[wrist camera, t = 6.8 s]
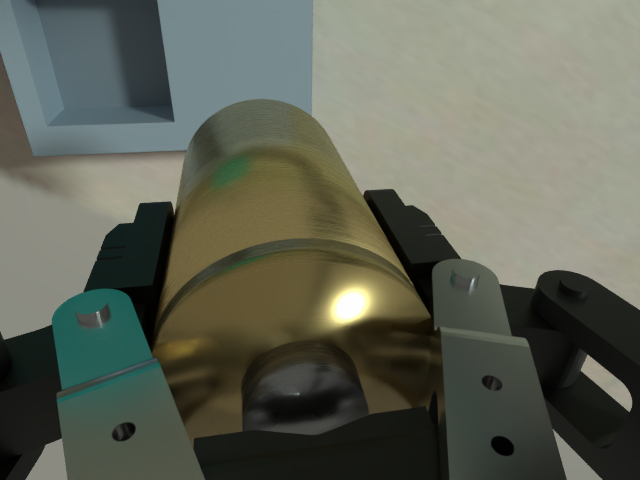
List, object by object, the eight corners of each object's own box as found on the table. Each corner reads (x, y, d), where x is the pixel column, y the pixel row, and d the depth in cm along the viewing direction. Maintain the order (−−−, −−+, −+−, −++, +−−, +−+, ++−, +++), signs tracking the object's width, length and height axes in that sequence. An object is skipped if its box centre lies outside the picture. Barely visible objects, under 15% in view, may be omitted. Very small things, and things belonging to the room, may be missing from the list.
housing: (1, -83, 22) (-45, -88, 18) (299, -73, 24) (314, -76, 20) (59, 127, 27) (33, 156, 23) (299, 119, 29) (311, 144, 26)
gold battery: (172, 101, 14) (103, 318, 6) (341, 96, 14) (488, 282, 6) (193, 246, 16) (166, 533, 8) (334, 236, 17) (433, 489, 9)
